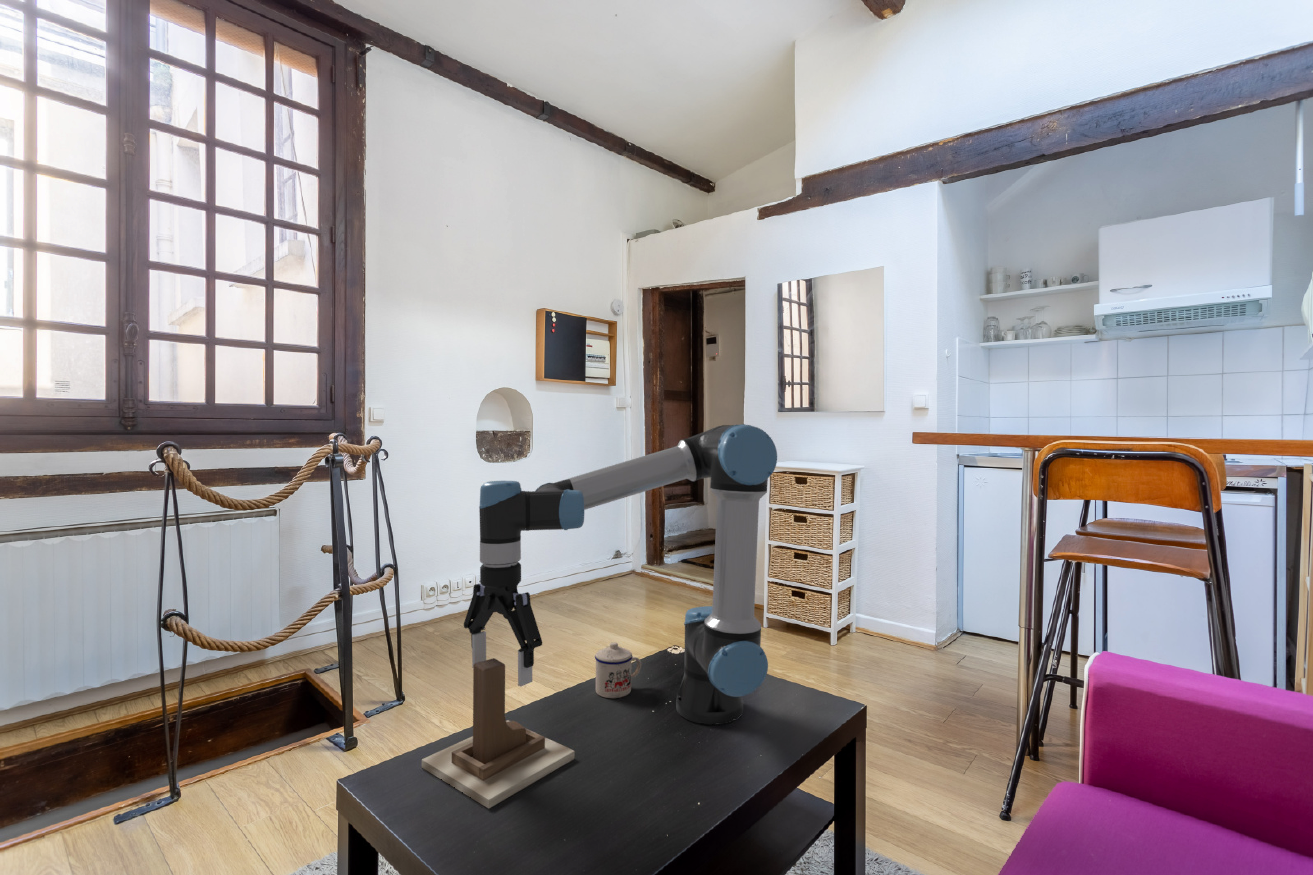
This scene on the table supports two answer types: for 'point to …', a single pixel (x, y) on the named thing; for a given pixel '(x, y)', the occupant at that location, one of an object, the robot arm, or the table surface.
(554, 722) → the table surface
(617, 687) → the teacup with lid
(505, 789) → the keyed plate
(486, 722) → the wooden block
